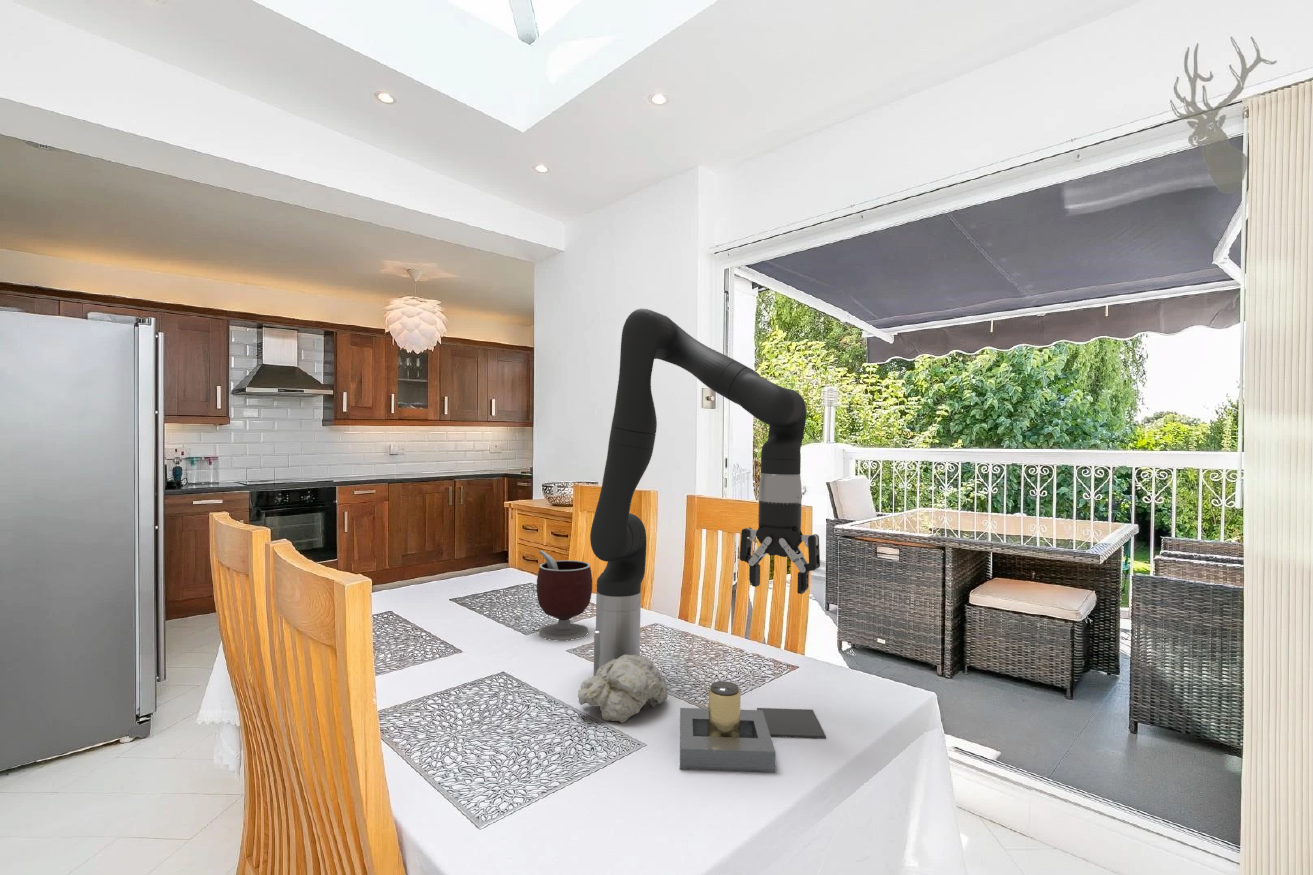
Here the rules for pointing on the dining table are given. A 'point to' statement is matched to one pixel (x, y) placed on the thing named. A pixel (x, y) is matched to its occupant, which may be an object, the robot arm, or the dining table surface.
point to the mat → (792, 723)
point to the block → (725, 743)
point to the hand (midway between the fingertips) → (778, 589)
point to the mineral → (624, 687)
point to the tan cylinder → (724, 710)
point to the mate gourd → (563, 596)
